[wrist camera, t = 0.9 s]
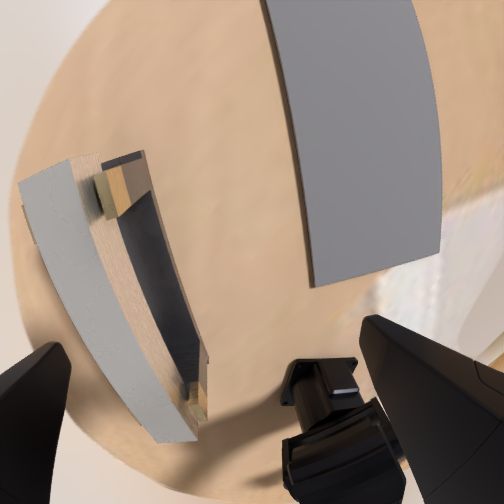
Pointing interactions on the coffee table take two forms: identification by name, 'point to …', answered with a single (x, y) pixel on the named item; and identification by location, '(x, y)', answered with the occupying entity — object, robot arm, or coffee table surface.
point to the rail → (106, 295)
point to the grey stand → (154, 267)
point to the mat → (362, 132)
